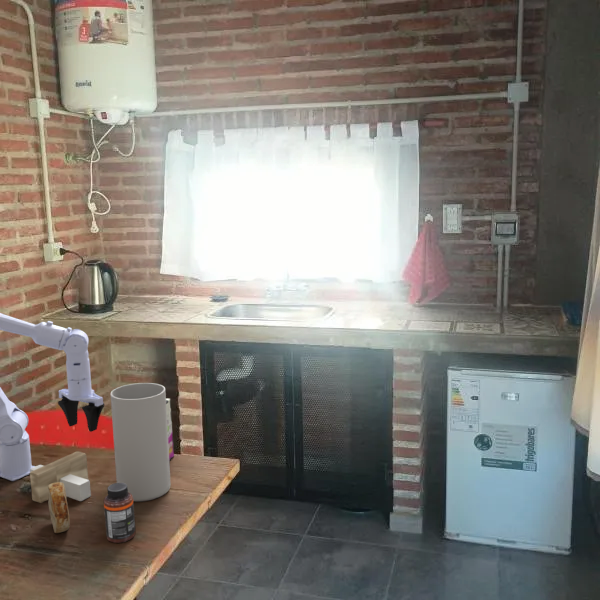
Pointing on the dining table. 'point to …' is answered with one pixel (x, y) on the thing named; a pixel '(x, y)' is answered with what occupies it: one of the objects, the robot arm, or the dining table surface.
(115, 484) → the supplement bottle
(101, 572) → the dining table surface
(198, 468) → the dining table surface
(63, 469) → the light wood plank
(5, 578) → the dining table surface
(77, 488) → the white building blocks
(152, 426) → the cylinder vase
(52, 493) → the toasted sandwich
